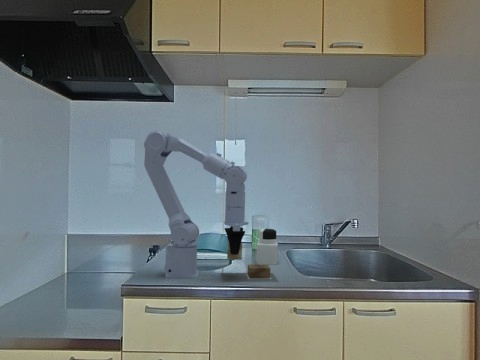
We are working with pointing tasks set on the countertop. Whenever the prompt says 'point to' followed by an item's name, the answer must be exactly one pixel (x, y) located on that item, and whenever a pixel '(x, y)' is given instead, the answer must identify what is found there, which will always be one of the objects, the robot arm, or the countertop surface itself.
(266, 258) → the medicine bottle
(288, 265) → the countertop surface
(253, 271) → the walnut base
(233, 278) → the mat
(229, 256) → the maple block
